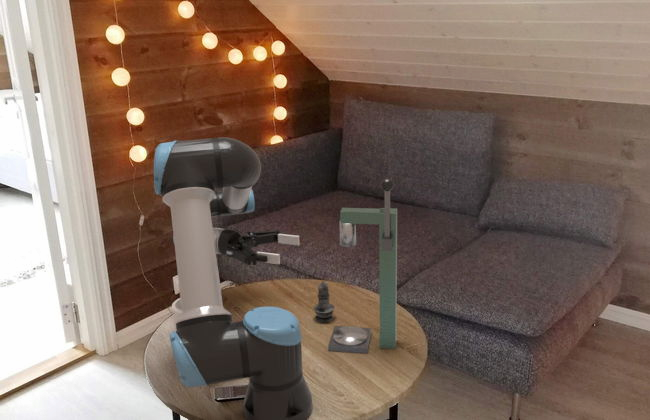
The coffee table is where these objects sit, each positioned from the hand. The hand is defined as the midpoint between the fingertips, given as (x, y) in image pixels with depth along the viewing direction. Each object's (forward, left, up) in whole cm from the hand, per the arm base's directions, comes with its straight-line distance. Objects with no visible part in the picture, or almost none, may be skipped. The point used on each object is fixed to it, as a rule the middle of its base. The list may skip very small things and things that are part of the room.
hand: (289, 249), depth 161 cm
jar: (-24, +19, -20) cm, 37 cm away
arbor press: (-13, -22, -20) cm, 33 cm away
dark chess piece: (-2, -10, -20) cm, 23 cm away
